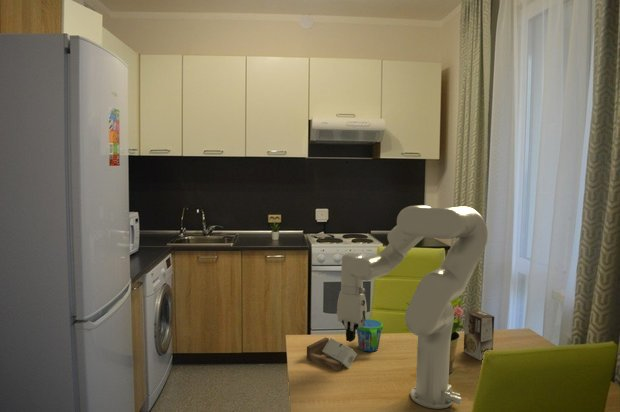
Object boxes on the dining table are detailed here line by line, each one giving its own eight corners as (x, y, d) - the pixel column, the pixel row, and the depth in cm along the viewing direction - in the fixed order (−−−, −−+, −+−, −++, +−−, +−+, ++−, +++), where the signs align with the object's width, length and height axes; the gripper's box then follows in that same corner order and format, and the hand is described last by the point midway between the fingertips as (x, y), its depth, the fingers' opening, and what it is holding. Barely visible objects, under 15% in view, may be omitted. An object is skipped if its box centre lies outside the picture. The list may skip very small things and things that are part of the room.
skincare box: (342, 362, 148) (320, 351, 158) (349, 369, 150) (326, 357, 160) (352, 347, 151) (329, 337, 160) (358, 354, 153) (335, 343, 162)
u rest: (356, 360, 157) (356, 347, 157) (338, 371, 148) (338, 357, 148) (325, 349, 166) (325, 337, 165) (306, 359, 157) (306, 346, 156)
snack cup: (352, 340, 176) (353, 316, 175) (378, 340, 176) (378, 316, 175) (357, 356, 160) (358, 330, 159) (385, 357, 160) (386, 330, 160)
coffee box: (493, 358, 161) (495, 316, 159) (479, 361, 158) (481, 318, 157) (475, 349, 169) (477, 309, 168) (462, 351, 167) (464, 310, 165)
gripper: (375, 290, 148) (374, 342, 150) (340, 283, 157) (339, 332, 159) (364, 295, 142) (363, 349, 144) (328, 287, 151) (327, 338, 153)
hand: (350, 340), depth 151 cm, fingers closed
